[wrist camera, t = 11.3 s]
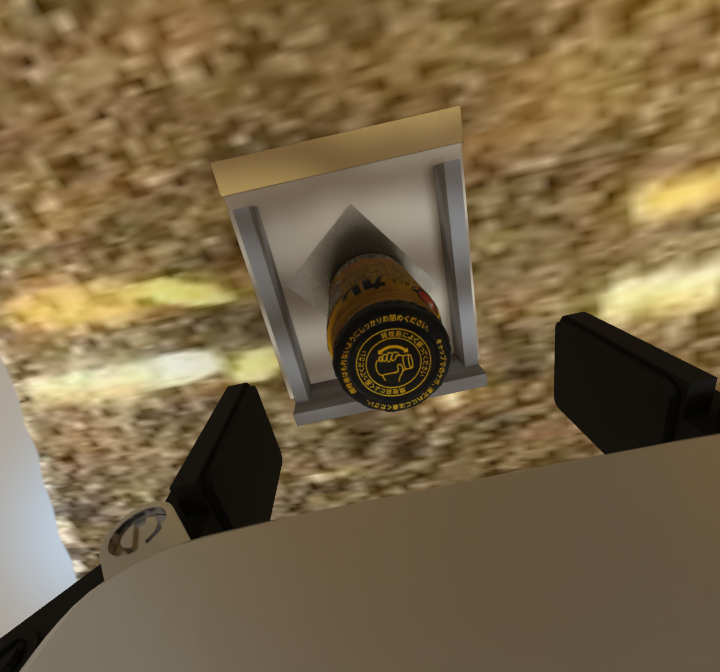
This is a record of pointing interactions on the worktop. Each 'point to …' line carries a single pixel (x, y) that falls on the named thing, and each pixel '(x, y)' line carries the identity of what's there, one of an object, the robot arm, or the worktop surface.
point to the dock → (382, 208)
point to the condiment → (375, 315)
